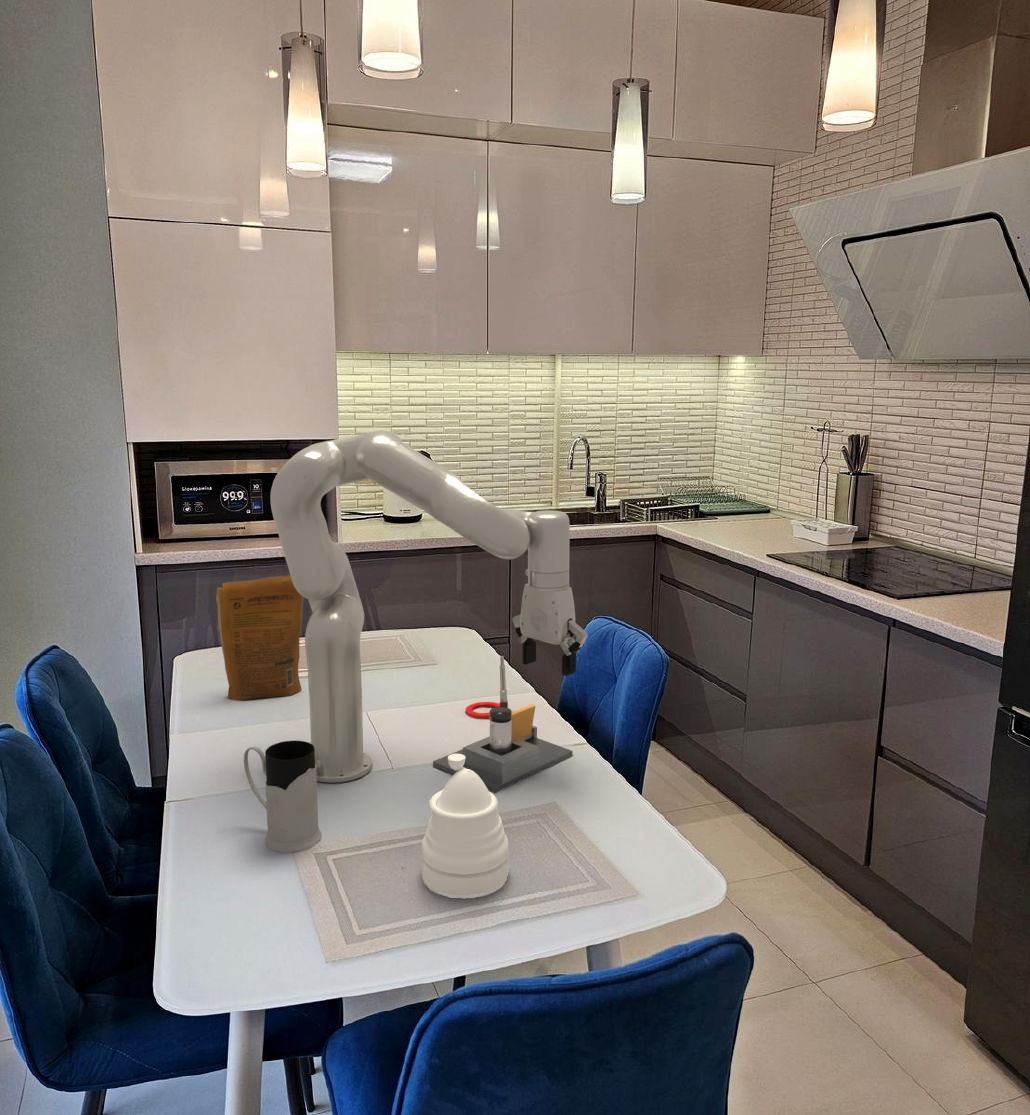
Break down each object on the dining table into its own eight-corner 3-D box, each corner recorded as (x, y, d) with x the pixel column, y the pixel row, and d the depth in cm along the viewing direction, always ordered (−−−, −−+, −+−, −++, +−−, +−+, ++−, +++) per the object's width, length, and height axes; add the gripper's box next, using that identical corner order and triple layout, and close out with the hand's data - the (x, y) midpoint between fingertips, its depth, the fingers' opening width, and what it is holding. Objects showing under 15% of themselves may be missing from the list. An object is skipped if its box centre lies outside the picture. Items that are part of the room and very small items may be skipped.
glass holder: (295, 858, 138) (291, 766, 135) (228, 834, 145) (223, 746, 142) (333, 833, 145) (330, 746, 142) (267, 812, 152) (263, 728, 149)
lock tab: (505, 750, 176) (510, 716, 173) (501, 747, 176) (507, 713, 174) (531, 738, 181) (536, 705, 179) (527, 736, 182) (533, 703, 179)
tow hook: (463, 720, 194) (506, 720, 194) (460, 663, 192) (504, 662, 191) (467, 706, 202) (509, 706, 202) (465, 651, 200) (506, 650, 199)
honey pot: (404, 873, 134) (402, 760, 130) (468, 843, 143) (469, 736, 139) (461, 910, 125) (461, 790, 122) (526, 875, 134) (528, 762, 130)
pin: (500, 773, 165) (501, 717, 163) (485, 767, 168) (485, 711, 166) (515, 767, 168) (516, 711, 166) (499, 760, 171) (500, 705, 169)
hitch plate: (494, 793, 160) (494, 766, 159) (433, 766, 170) (432, 741, 169) (572, 755, 176) (573, 731, 175) (511, 733, 186) (512, 710, 185)
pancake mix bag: (310, 696, 206) (305, 576, 200) (222, 705, 200) (215, 582, 194) (306, 686, 212) (302, 570, 206) (221, 695, 206) (214, 575, 200)
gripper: (500, 575, 168) (501, 663, 171) (572, 590, 156) (572, 684, 160) (527, 568, 173) (527, 654, 177) (599, 582, 162) (598, 673, 165)
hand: (548, 668), depth 168 cm, fingers open, 9 cm apart
